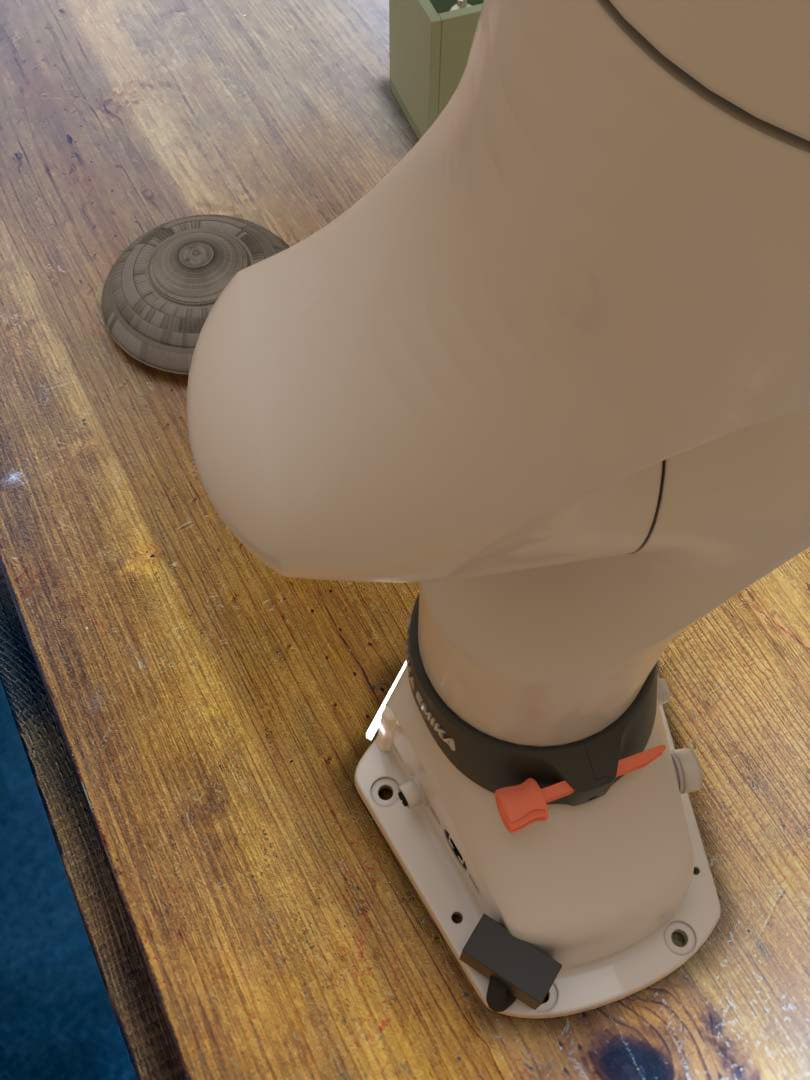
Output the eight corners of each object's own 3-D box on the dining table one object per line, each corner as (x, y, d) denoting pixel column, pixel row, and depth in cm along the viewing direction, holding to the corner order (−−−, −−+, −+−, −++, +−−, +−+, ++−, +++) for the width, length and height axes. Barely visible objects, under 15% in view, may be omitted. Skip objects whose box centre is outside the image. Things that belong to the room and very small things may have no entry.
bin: (545, -5, 78) (431, 22, 76) (528, 130, 88) (427, 156, 87) (497, -73, 82) (388, -49, 80) (486, 64, 92) (389, 88, 91)
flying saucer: (81, 269, 80) (61, 214, 76) (266, 209, 84) (258, 153, 79) (142, 415, 74) (125, 365, 69) (341, 345, 77) (337, 293, 72)
